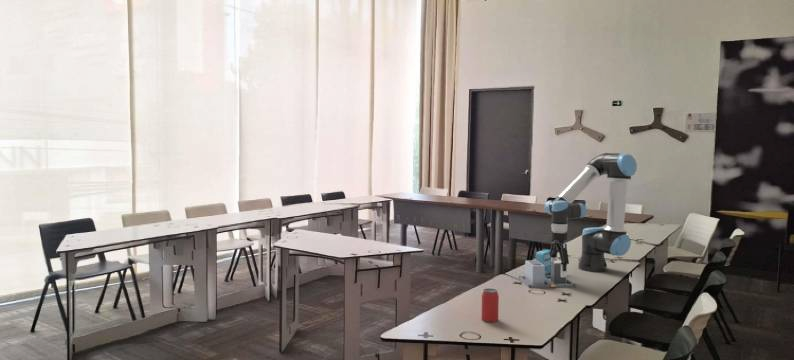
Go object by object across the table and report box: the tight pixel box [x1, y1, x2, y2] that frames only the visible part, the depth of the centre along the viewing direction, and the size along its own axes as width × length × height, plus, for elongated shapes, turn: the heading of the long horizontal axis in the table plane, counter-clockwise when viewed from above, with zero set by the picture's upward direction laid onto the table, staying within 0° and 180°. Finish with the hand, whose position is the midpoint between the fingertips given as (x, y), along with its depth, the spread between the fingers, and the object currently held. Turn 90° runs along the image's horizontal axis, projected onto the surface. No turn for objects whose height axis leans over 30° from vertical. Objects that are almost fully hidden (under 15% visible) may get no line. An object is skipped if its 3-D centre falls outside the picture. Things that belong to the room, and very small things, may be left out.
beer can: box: [481, 288, 500, 323], centre depth 210 cm, size 7×7×12 cm
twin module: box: [524, 259, 546, 285], centre depth 264 cm, size 6×12×10 cm, turn 3°
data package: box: [535, 248, 552, 275], centre depth 284 cm, size 12×4×12 cm, turn 136°
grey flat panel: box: [518, 275, 577, 289], centre depth 264 cm, size 23×18×2 cm
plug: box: [550, 260, 567, 284], centre depth 265 cm, size 6×5×10 cm
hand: (558, 273), depth 265 cm, fingers open, 13 cm apart
